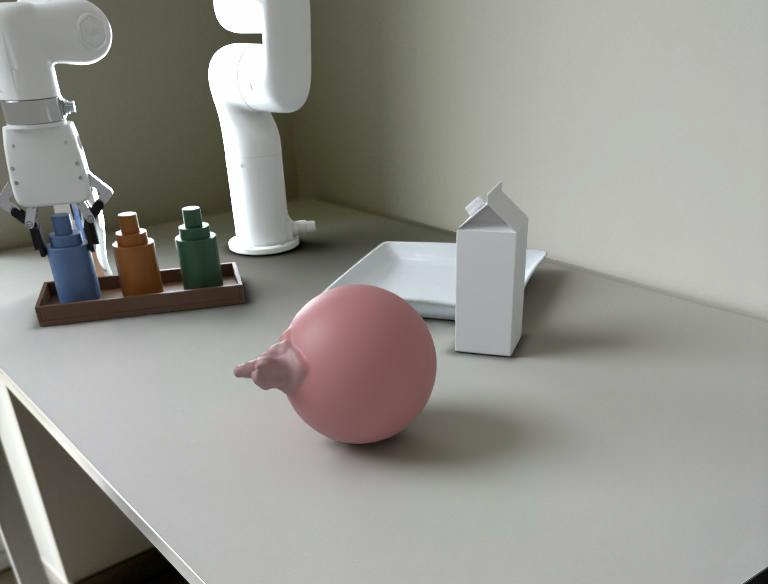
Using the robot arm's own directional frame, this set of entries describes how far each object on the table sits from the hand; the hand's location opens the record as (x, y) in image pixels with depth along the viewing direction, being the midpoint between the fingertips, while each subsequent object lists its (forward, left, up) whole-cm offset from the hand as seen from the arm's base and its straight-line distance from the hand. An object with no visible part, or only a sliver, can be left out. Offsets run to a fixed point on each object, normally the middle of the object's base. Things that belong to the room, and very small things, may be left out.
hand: (68, 250), depth 115 cm
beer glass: (-1, -13, -9) cm, 16 cm away
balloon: (-29, +52, -9) cm, 60 cm away
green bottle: (-18, 0, -8) cm, 20 cm away
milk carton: (-52, +33, -9) cm, 62 cm away
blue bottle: (0, 0, -7) cm, 7 cm away
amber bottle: (-9, 0, -8) cm, 12 cm away
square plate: (-52, +12, -9) cm, 54 cm away
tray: (-9, 0, -8) cm, 12 cm away
